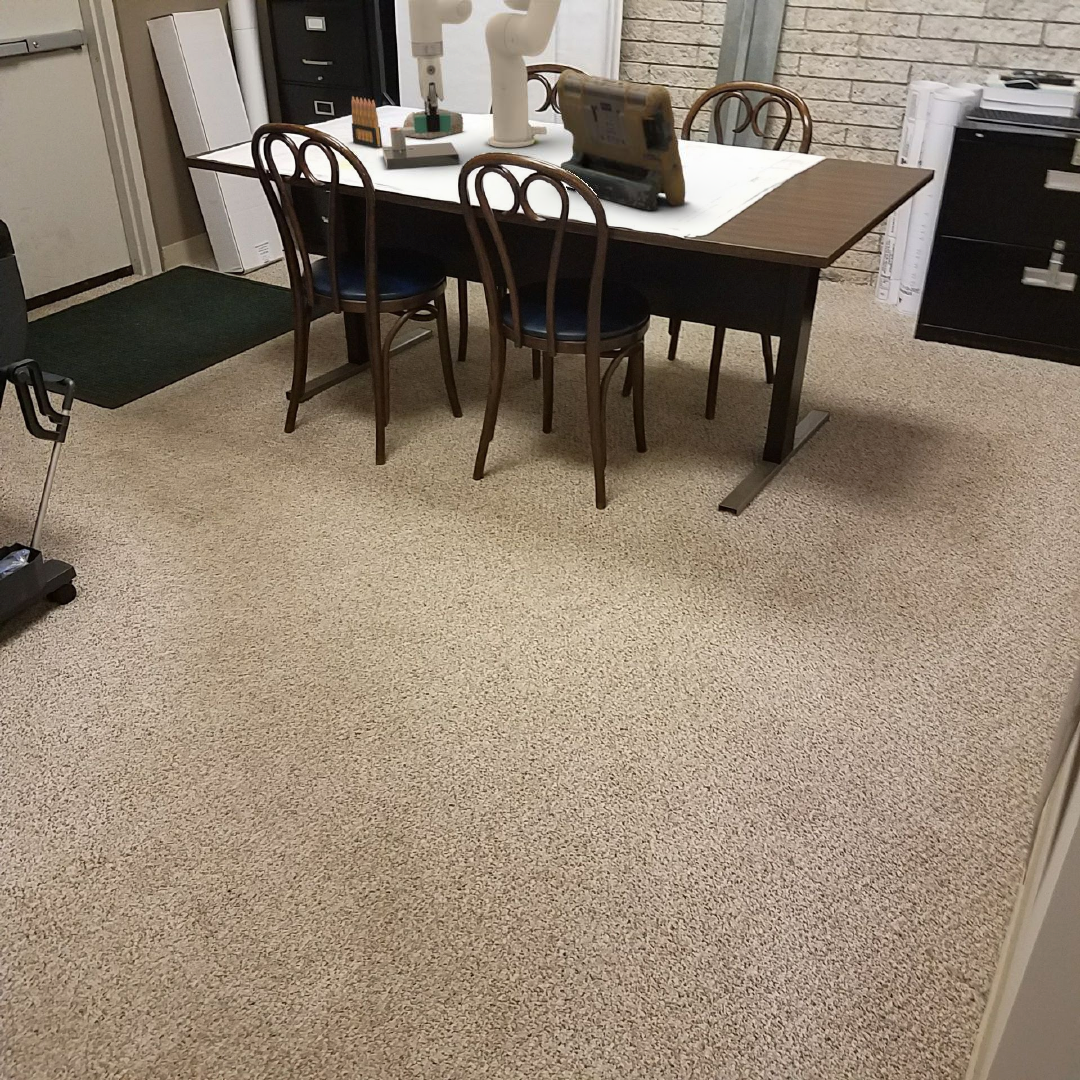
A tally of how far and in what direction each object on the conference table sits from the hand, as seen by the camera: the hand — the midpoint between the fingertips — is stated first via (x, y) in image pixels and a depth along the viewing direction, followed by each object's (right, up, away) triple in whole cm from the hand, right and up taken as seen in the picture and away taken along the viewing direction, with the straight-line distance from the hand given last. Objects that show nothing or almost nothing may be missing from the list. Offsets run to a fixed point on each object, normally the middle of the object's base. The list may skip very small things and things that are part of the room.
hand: (432, 129), depth 265 cm
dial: (-9, -2, +7) cm, 12 cm away
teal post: (-2, -1, 0) cm, 2 cm away
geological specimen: (-3, +12, +35) cm, 37 cm away
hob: (-4, -5, +7) cm, 9 cm away
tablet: (+45, -25, -26) cm, 57 cm away
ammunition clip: (-20, +5, +24) cm, 32 cm away
